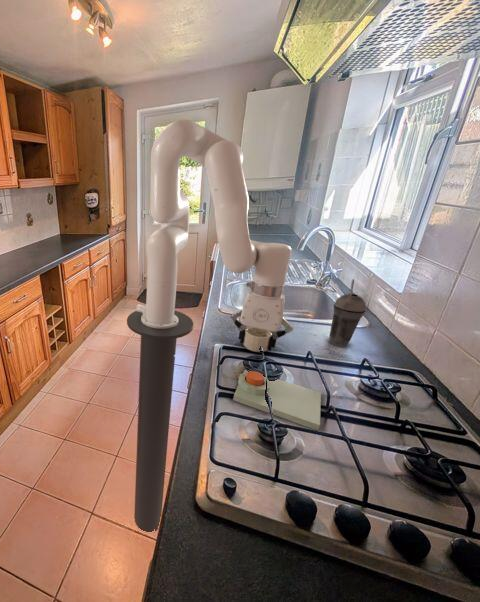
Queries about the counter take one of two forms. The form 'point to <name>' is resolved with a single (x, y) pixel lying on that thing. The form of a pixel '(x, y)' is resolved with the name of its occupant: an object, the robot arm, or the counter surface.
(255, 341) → the bowl
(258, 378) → the button
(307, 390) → the scale
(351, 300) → the beverage cup
